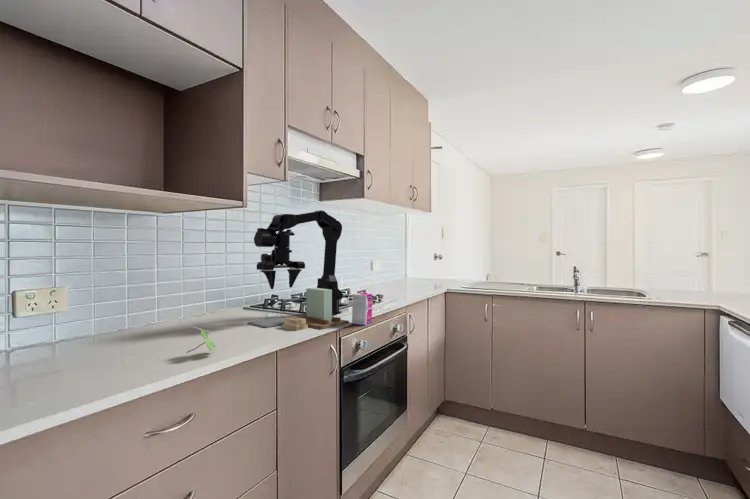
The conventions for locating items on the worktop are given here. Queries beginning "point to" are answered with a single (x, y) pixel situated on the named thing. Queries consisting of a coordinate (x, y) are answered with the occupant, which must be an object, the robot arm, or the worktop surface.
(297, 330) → the offcut lower
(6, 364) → the worktop surface
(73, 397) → the worktop surface
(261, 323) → the mat
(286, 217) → the robot arm
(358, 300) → the supplement box
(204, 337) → the seedling
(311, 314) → the sage green block
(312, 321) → the rack
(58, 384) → the worktop surface
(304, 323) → the offcut upper
